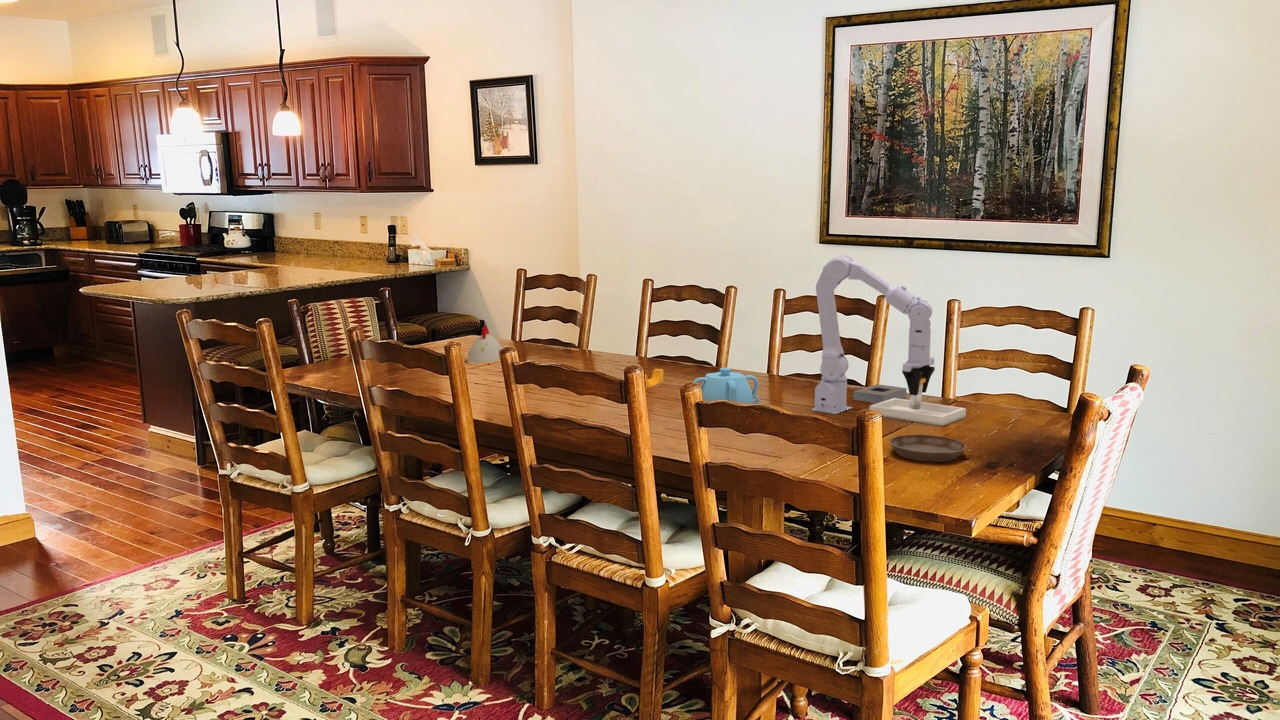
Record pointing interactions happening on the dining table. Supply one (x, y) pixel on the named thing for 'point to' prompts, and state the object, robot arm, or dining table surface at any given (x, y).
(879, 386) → the block
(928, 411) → the tray
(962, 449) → the plant saucer
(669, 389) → the dining table surface
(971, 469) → the dining table surface
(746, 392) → the decorative pot
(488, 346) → the kitchen timer
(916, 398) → the gold capped clear cylinder
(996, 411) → the dining table surface
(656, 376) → the pipe clamp
